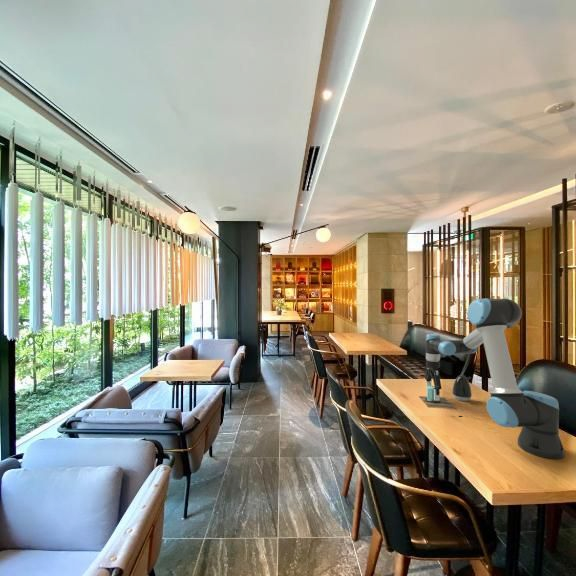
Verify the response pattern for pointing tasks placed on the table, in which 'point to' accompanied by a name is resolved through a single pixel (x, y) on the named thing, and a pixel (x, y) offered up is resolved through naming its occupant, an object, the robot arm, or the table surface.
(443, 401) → the board
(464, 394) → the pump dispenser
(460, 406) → the table surface
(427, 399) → the post
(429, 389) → the cap
